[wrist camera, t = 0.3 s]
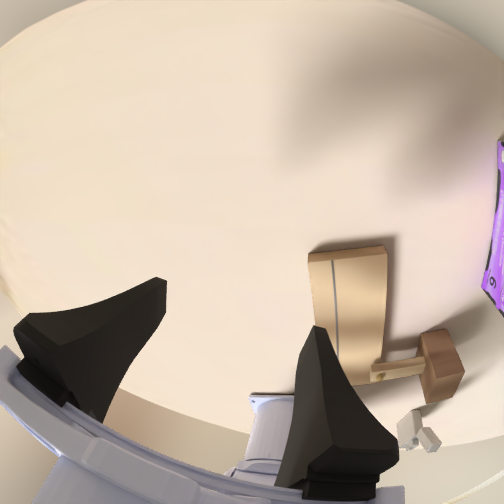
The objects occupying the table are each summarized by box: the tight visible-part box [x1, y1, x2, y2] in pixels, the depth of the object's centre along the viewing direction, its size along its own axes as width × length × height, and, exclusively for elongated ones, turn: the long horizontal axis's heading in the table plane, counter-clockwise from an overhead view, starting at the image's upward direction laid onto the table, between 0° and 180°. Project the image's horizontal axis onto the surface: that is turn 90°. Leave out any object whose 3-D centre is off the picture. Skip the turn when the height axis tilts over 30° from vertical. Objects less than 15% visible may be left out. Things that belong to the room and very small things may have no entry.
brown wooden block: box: [370, 329, 465, 404], centre depth 20 cm, size 4×8×6 cm, turn 103°
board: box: [308, 245, 387, 386], centre depth 22 cm, size 15×6×2 cm, turn 13°
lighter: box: [397, 410, 442, 452], centre depth 24 cm, size 7×2×8 cm, turn 170°
